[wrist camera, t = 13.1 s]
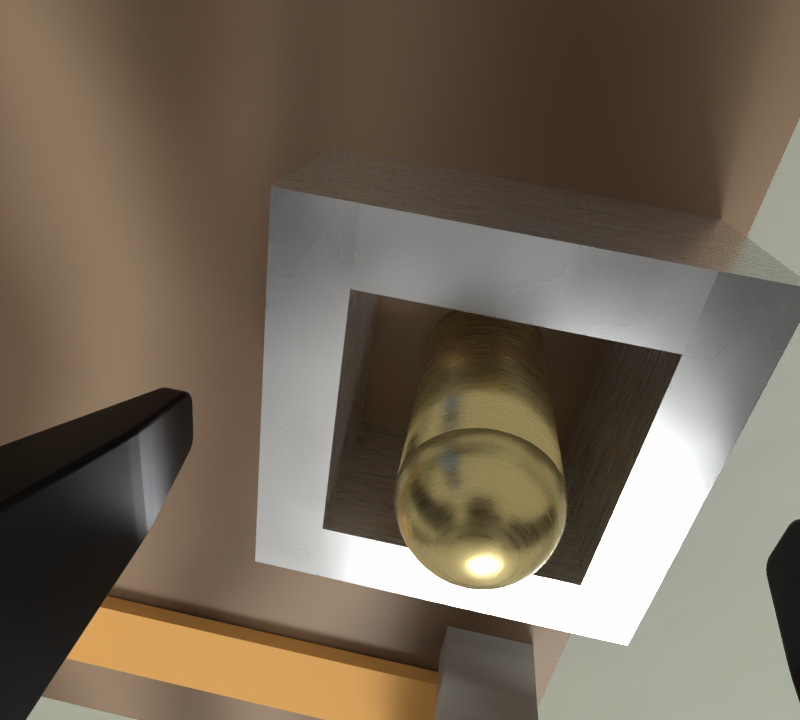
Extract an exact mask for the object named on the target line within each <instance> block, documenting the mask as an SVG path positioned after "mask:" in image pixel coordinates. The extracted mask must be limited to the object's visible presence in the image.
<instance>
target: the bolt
mask: <svg viewBox="0 0 800 720" xmlns="http://www.w3.org/2000/svg"><path fill="white" fill-rule="evenodd" d="M67 659H71V660H75V661H80V662H84V663H88V664H92V665H96V666H101V667H105V668H109V669H113V670H117V671H122V672H126V673H130V674H134V675H138V676H143V677H147V678H151V679H155V680H159V681H164V682H168V683H172V684H176V685H181V686H185V687H189V688H193V689H197V690H202V691H206V692H210V693H214V694H218V695H223V696H227V697H231V698H235V699H239V700H244V701H248V702H252V703H256V704H260V705H265V706H269V707H273V708H277V709H281V710H286V711H290V712H294V713H298V714H303V715H307V716H311V717H315V718H319V719H324V720H434V712H435V701H436V691H437V680H438V672H435V671H431V670H427V669H422V668H418V667H414V666H409V665H405V664H401V663H396V662H392V661H388V660H383V659H379V658H375V657H370V656H366V655H362V654H357V653H353V652H349V651H344V650H340V649H335V648H331V647H327V646H322V645H318V644H314V643H309V642H305V641H301V640H296V639H292V638H288V637H283V636H279V635H275V634H270V633H266V632H262V631H257V630H253V629H249V628H244V627H240V626H236V625H231V624H227V623H223V622H218V621H214V620H209V619H205V618H201V617H196V616H192V615H188V614H183V613H179V612H175V611H170V610H166V609H162V608H157V607H153V606H149V605H144V604H140V603H136V602H131V601H127V600H123V599H118V598H114V597H110V596H107V597H106V599H105V600H104V602H103V603H102V605H101V606H100V608H99V609H98V611H97V612H96V614H95V615H94V617H93V618H92V620H91V621H90V623H89V624H88V626H87V627H86V629H85V630H84V632H83V633H82V635H81V637H80V638H79V640H78V641H77V643H76V644H75V646H74V647H73V649H72V650H71V652H70V653H69V655H68V656H67Z"/></svg>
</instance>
